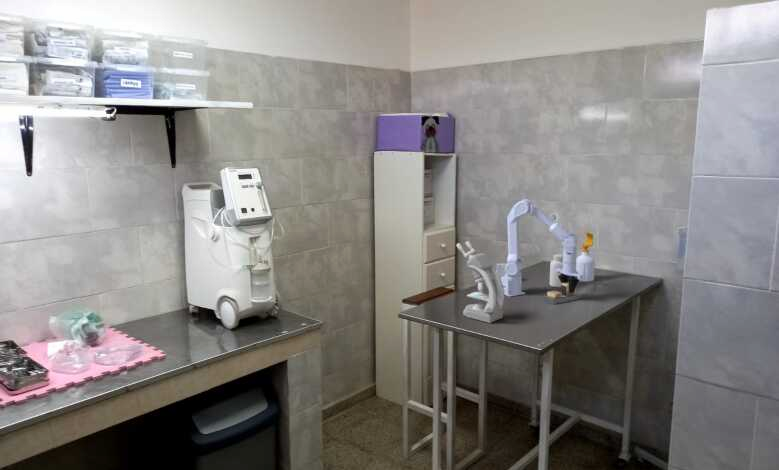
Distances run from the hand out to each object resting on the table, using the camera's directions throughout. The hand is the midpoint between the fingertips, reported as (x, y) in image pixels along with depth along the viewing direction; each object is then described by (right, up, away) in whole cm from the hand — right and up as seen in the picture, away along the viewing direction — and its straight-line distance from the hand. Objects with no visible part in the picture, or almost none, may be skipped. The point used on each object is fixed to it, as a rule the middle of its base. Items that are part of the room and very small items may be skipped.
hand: (568, 291), depth 248 cm
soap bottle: (+18, +3, +32) cm, 37 cm away
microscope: (-43, -8, -21) cm, 49 cm away
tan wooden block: (0, -2, 0) cm, 2 cm away
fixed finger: (-7, -3, -3) cm, 8 cm away
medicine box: (-22, +2, +33) cm, 40 cm away
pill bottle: (+2, 0, +22) cm, 22 cm away
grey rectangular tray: (-3, -4, -1) cm, 5 cm away
